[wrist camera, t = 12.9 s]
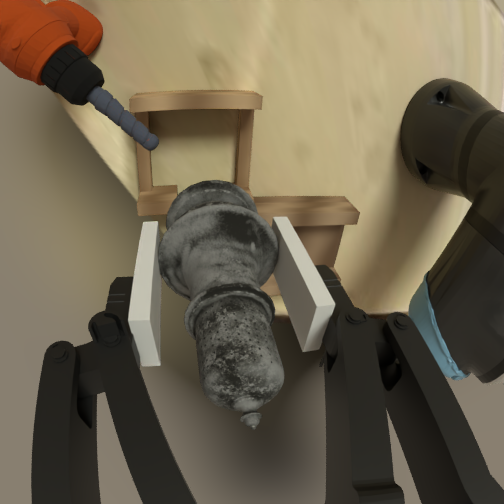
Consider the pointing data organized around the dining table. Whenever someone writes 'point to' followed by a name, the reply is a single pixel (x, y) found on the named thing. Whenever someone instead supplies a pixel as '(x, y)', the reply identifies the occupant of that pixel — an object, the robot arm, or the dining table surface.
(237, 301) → the chess piece
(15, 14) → the toy drill
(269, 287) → the rack
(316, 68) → the dining table surface
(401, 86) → the dining table surface
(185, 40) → the dining table surface
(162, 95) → the socket frame
